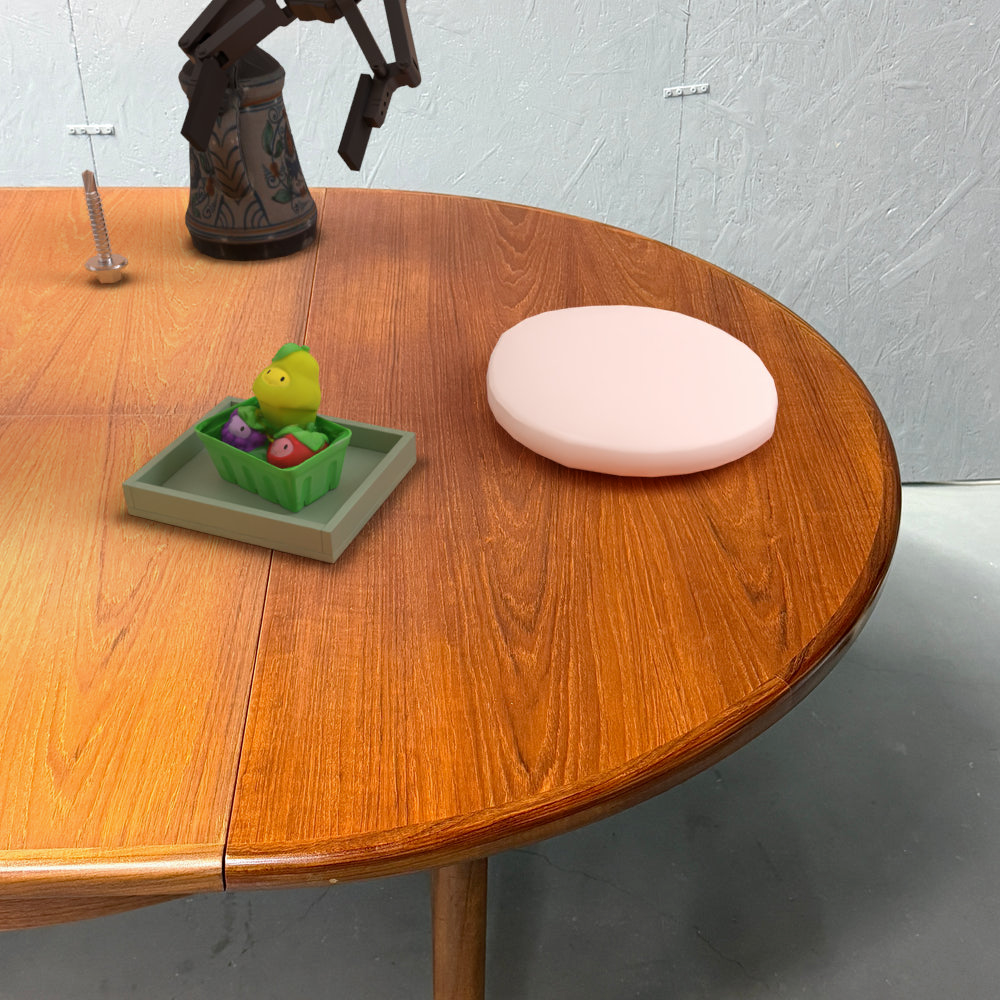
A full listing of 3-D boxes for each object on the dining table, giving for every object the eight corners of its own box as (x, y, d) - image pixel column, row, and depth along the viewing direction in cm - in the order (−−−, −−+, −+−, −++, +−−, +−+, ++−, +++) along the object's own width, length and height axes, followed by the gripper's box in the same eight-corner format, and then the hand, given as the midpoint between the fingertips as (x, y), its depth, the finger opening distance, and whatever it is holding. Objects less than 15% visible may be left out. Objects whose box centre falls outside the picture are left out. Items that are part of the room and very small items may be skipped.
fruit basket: (197, 480, 90) (175, 358, 84) (275, 436, 96) (260, 319, 89) (294, 527, 84) (279, 401, 78) (370, 478, 90) (362, 357, 84)
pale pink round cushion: (840, 417, 91) (545, 470, 84) (823, 477, 95) (540, 532, 88) (695, 264, 111) (447, 297, 104) (686, 319, 115) (447, 354, 109)
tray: (128, 514, 87) (121, 483, 85) (232, 424, 99) (227, 395, 97) (333, 564, 82) (330, 532, 80) (416, 462, 94) (415, 432, 92)
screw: (79, 282, 126) (109, 268, 130) (110, 290, 124) (140, 276, 128) (54, 172, 119) (86, 160, 122) (87, 178, 117) (118, 166, 121)
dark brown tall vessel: (292, 208, 148) (271, 11, 134) (349, 254, 134) (332, 40, 120) (172, 229, 141) (137, 24, 127) (220, 280, 127) (186, 56, 113)
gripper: (501, -48, 86) (433, 195, 83) (230, -64, 93) (157, 159, 90) (477, -119, 79) (401, 143, 75) (186, -131, 86) (104, 109, 83)
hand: (268, 152), depth 83 cm, fingers open, 13 cm apart
